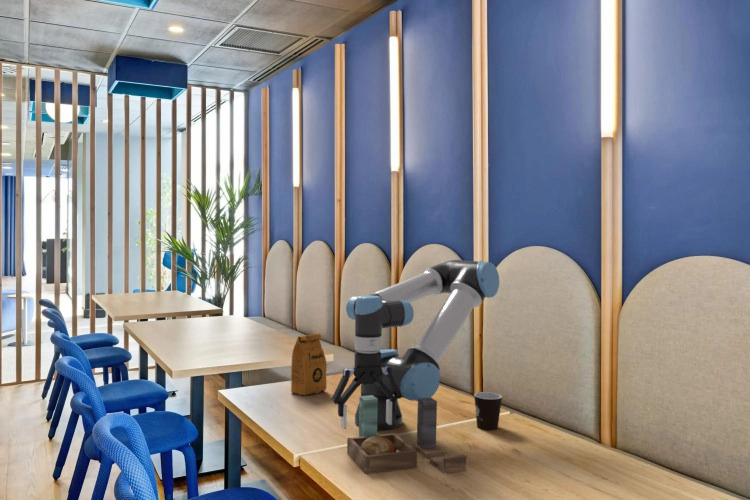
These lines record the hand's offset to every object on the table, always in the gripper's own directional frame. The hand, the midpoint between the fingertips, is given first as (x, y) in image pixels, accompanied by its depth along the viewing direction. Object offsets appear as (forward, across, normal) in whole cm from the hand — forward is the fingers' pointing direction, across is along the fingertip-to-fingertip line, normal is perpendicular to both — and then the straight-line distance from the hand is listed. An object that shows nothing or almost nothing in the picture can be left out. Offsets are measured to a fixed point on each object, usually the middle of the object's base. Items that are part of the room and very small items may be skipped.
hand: (366, 425), depth 173 cm
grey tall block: (+6, +15, -10) cm, 19 cm away
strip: (+6, +15, -21) cm, 26 cm away
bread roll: (+6, -1, -12) cm, 13 cm away
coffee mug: (+6, +43, +6) cm, 44 cm away
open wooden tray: (+6, 0, -9) cm, 11 cm away
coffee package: (+6, -1, +61) cm, 61 cm away
